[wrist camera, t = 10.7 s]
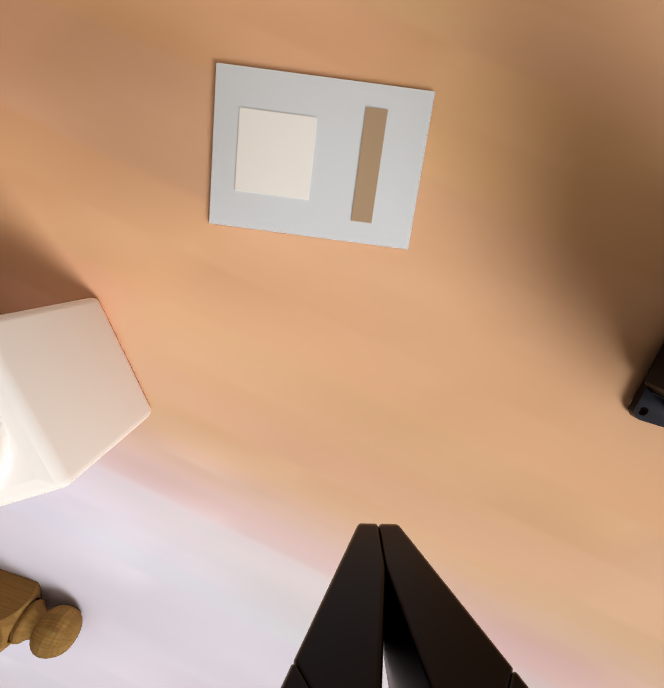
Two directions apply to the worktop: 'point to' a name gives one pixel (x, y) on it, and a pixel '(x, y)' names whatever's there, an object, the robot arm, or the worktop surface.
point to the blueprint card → (317, 155)
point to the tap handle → (34, 618)
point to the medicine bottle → (61, 396)
